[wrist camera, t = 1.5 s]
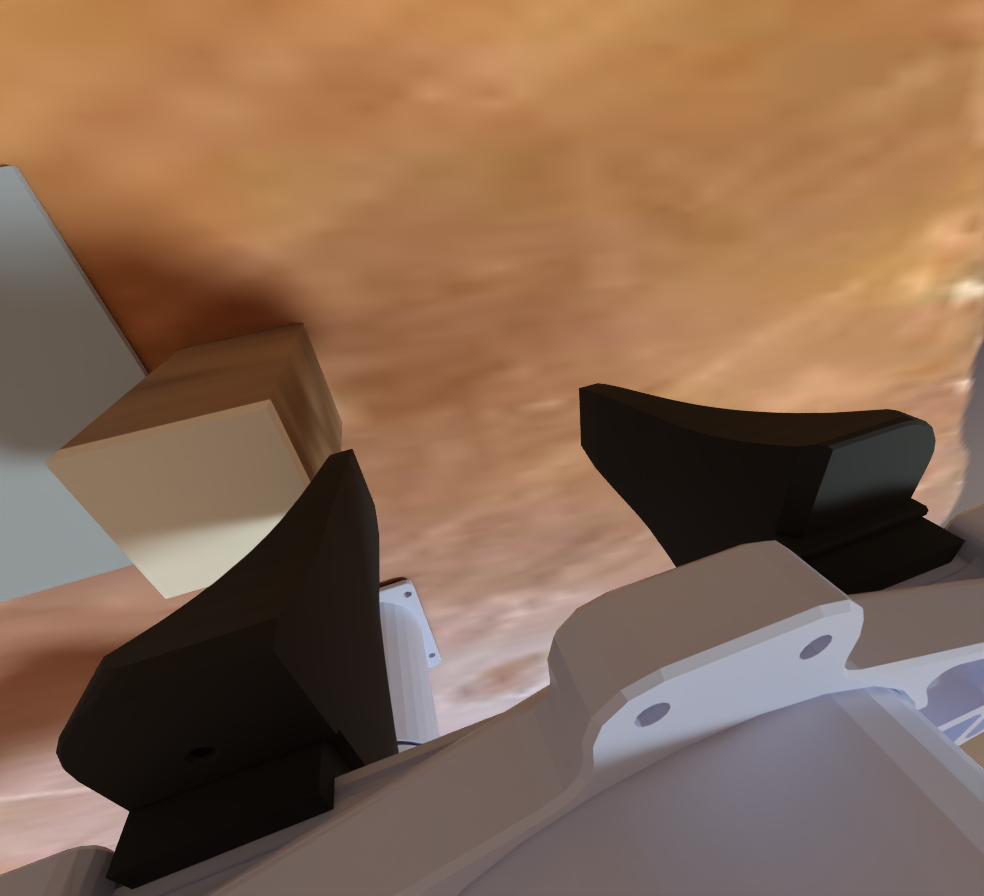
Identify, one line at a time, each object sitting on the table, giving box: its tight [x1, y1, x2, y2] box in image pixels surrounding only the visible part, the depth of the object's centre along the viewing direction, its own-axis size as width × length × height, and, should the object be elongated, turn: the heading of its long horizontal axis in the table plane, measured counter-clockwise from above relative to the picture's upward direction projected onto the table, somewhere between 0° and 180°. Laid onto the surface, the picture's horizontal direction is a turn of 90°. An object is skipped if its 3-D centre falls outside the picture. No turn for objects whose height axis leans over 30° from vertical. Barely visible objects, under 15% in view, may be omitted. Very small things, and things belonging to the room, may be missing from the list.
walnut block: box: [44, 323, 342, 599], centre depth 15 cm, size 5×5×9 cm
